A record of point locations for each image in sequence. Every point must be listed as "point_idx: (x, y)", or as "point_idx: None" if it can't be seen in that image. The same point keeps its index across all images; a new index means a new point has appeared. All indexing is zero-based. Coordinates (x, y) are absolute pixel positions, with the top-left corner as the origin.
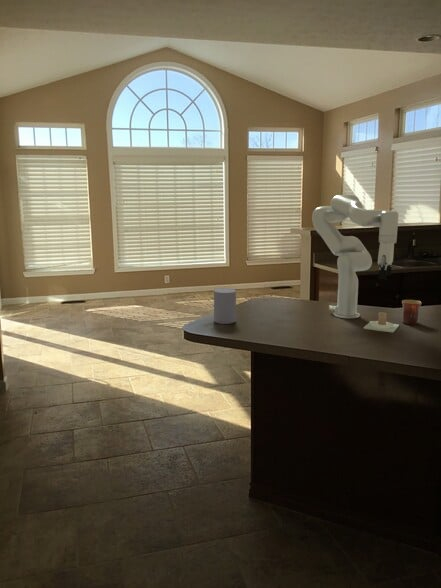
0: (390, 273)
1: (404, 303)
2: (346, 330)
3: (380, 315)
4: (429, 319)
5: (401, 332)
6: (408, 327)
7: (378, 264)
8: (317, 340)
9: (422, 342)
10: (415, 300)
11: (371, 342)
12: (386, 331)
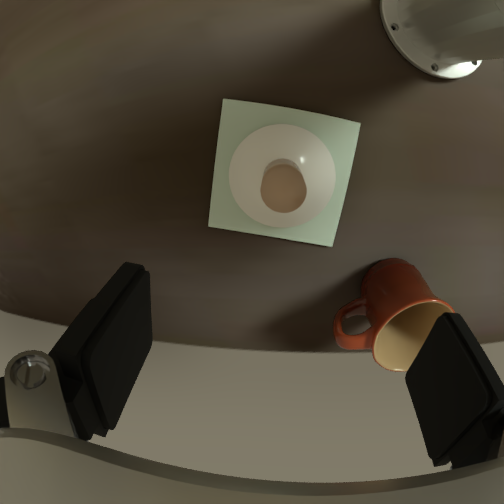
0: (411, 397)
1: (394, 310)
2: (166, 38)
3: (263, 178)
4: None
5: (228, 253)
6: (317, 277)
7: (22, 431)
8: (25, 15)
9: None
10: None
11: (57, 164)
12: (211, 198)
